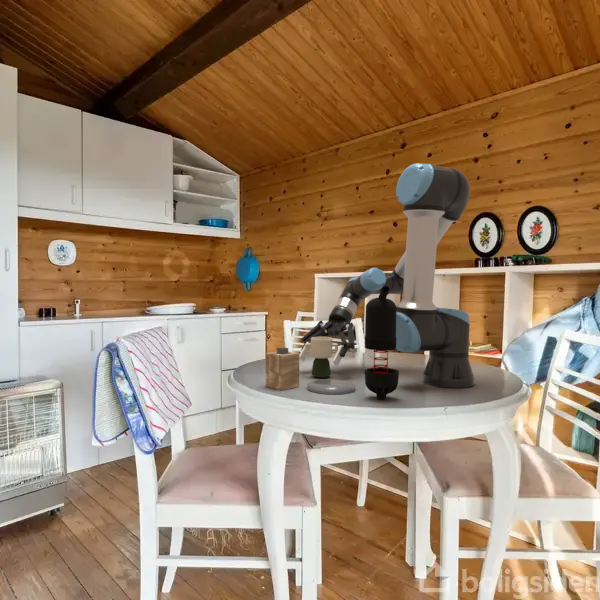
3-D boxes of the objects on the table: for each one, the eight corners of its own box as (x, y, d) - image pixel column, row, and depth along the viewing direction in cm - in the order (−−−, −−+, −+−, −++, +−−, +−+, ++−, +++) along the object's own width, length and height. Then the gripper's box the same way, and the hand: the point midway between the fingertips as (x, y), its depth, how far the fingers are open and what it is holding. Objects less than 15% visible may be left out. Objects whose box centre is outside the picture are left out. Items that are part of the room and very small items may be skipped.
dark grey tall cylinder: (290, 382, 131) (290, 348, 131) (282, 383, 129) (282, 349, 129) (282, 380, 134) (282, 347, 133) (274, 382, 131) (274, 348, 131)
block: (299, 386, 131) (299, 353, 131) (282, 390, 126) (282, 355, 126) (282, 383, 136) (282, 350, 136) (265, 386, 131) (265, 353, 131)
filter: (404, 404, 112) (405, 285, 112) (368, 404, 112) (369, 285, 111) (390, 391, 126) (391, 286, 125) (358, 391, 125) (359, 285, 125)
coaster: (364, 388, 129) (365, 384, 129) (335, 397, 119) (335, 392, 119) (327, 381, 139) (327, 377, 139) (297, 388, 129) (297, 384, 129)
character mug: (337, 375, 149) (337, 336, 149) (338, 379, 142) (338, 339, 142) (304, 374, 150) (304, 336, 149) (304, 379, 142) (304, 338, 142)
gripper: (378, 322, 150) (354, 373, 139) (318, 318, 166) (292, 364, 154) (370, 307, 146) (345, 358, 135) (309, 305, 161) (282, 350, 150)
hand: (317, 361), depth 144 cm, fingers open, 13 cm apart
